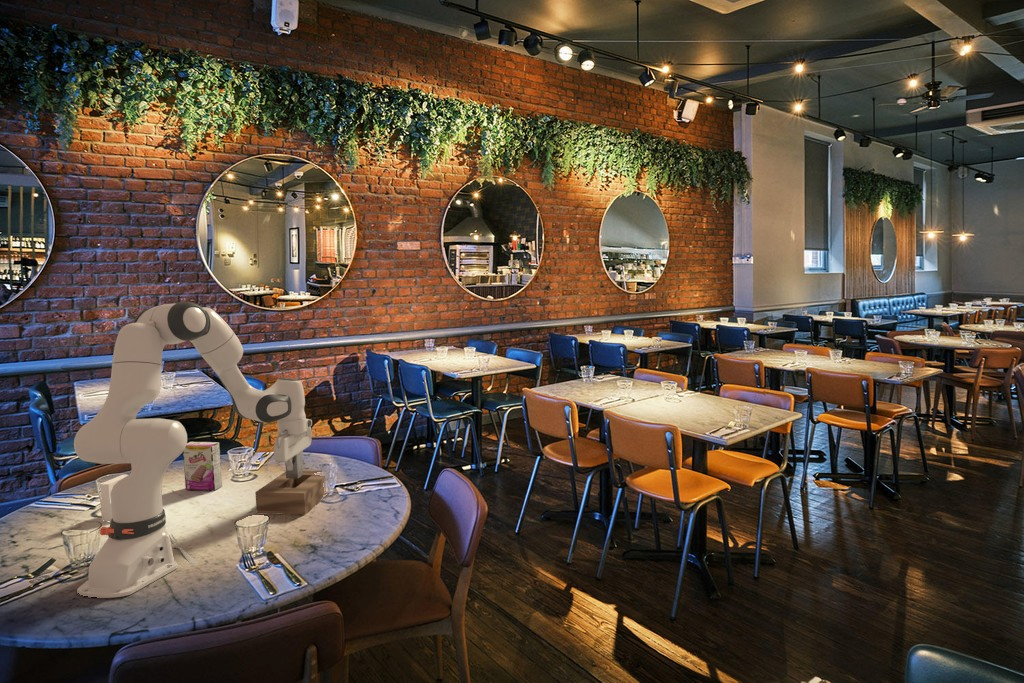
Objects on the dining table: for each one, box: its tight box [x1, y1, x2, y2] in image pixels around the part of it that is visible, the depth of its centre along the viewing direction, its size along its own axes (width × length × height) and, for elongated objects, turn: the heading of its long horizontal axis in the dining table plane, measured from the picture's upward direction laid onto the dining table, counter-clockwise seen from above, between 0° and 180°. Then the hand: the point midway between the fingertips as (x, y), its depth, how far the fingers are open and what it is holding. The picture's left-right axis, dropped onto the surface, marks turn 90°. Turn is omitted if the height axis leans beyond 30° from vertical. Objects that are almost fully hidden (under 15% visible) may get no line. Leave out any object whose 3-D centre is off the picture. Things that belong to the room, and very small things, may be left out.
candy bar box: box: [182, 441, 223, 492], centre depth 219 cm, size 11×5×16 cm, turn 84°
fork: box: [169, 534, 198, 565], centre depth 169 cm, size 3×24×2 cm, turn 46°
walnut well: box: [255, 469, 325, 515], centre depth 205 cm, size 22×16×7 cm
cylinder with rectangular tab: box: [99, 474, 129, 522], centre depth 195 cm, size 9×9×12 cm
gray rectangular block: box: [284, 451, 304, 479], centre depth 205 cm, size 4×4×8 cm
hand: (294, 467), depth 205 cm, fingers closed on gray rectangular block, 4 cm apart
